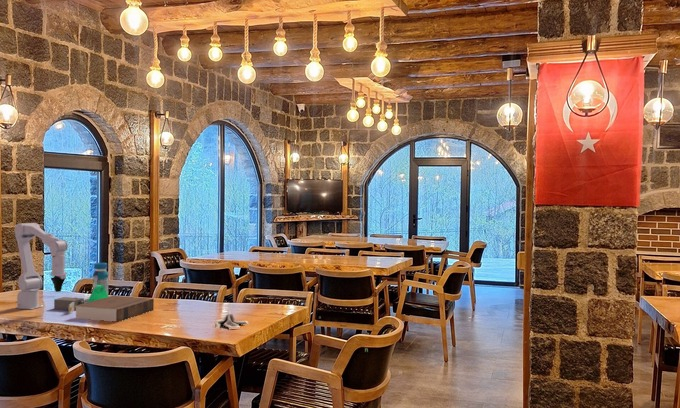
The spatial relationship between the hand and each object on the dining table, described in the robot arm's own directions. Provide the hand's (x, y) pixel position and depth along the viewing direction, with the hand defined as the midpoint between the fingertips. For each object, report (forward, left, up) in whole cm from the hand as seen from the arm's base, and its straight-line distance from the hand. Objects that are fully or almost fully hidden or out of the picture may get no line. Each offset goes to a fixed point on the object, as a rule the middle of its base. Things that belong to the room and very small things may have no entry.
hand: (58, 291), depth 278 cm
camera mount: (+8, +23, -11) cm, 27 cm away
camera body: (0, +8, -10) cm, 13 cm away
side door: (+7, +1, -10) cm, 13 cm away
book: (+30, +3, -11) cm, 32 cm away
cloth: (+94, -4, -11) cm, 94 cm away
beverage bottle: (-3, +37, -11) cm, 39 cm away
